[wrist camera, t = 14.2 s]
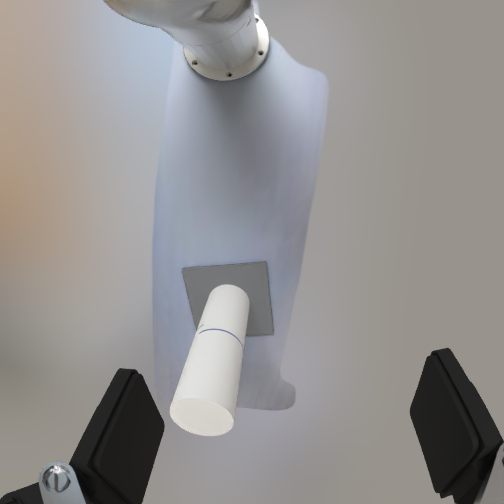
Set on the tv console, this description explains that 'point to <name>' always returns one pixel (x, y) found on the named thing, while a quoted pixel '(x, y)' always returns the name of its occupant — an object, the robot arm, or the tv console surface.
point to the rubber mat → (240, 275)
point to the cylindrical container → (213, 365)
